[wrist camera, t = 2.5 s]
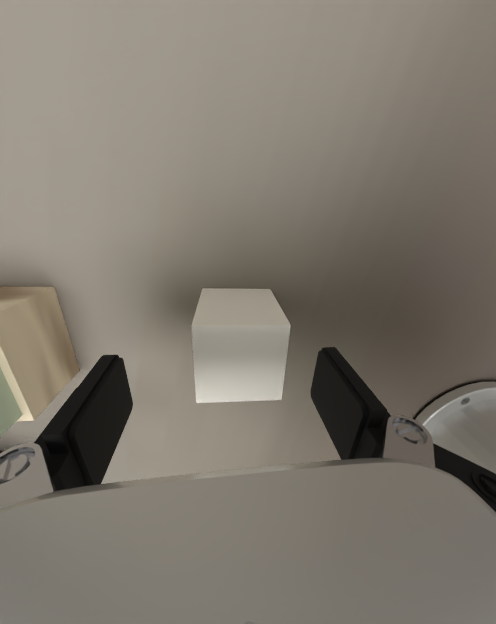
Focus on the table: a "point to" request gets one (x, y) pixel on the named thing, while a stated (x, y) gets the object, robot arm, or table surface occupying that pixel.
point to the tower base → (34, 347)
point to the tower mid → (7, 406)
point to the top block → (239, 345)
